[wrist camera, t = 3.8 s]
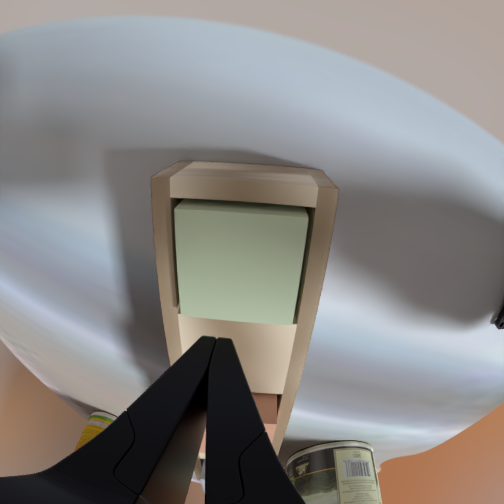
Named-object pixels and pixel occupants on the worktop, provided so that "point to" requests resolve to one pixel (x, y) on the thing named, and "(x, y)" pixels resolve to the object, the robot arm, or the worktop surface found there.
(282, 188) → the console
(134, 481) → the robot arm
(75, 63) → the worktop surface
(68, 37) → the worktop surface
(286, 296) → the sage key
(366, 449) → the coffee can
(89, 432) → the supplement bottle
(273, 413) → the terracotta key
